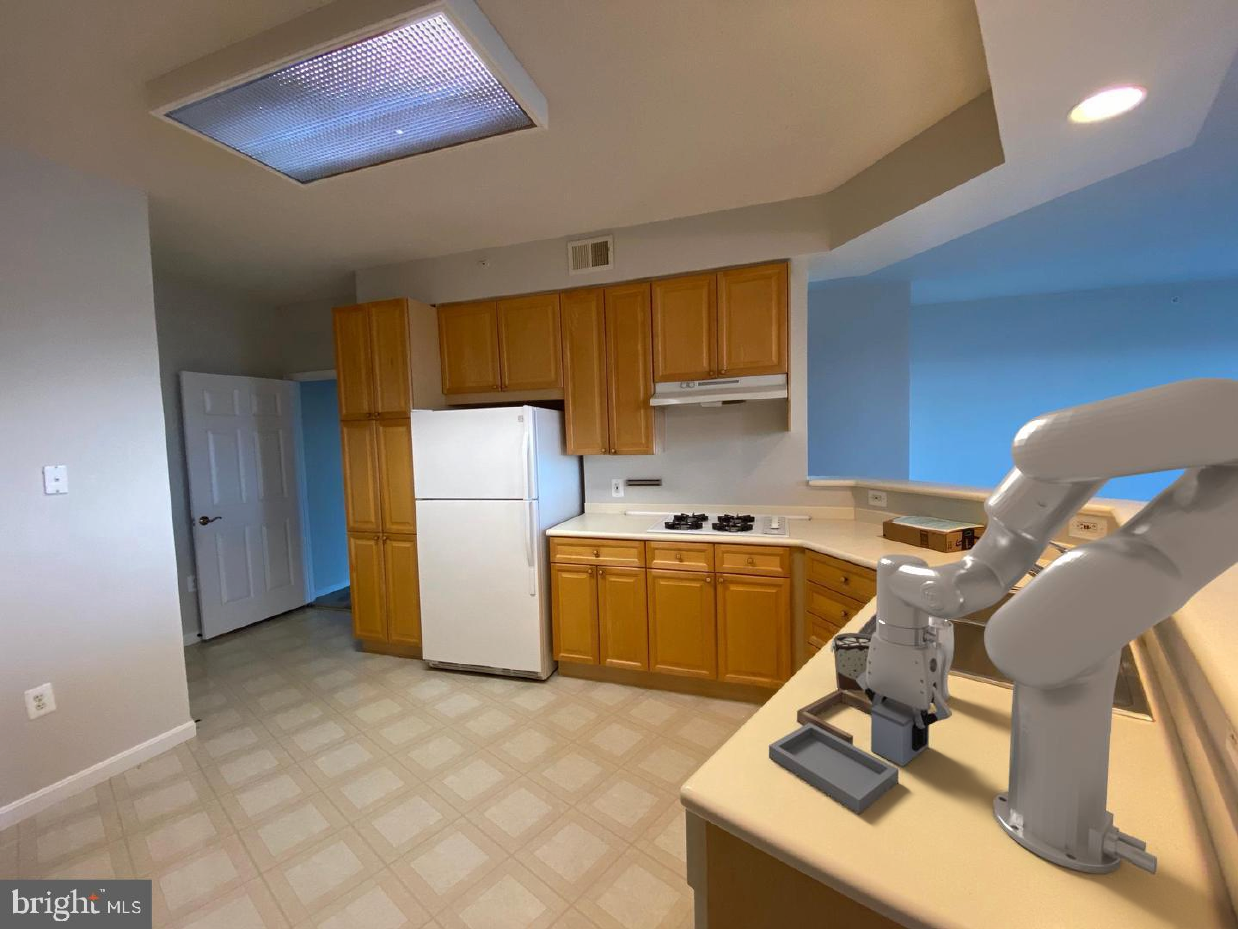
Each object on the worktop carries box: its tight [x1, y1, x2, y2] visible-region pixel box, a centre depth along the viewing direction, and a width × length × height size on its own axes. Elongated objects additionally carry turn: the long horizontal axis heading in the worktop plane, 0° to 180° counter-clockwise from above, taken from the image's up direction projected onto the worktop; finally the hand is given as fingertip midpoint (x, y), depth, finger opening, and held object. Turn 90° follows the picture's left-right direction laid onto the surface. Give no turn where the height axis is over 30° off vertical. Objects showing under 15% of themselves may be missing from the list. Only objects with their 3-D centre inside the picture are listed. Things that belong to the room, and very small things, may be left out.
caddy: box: [870, 698, 931, 767], centre depth 82 cm, size 5×9×7 cm, turn 125°
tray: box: [768, 723, 899, 815], centre depth 78 cm, size 15×11×2 cm
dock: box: [796, 688, 873, 746], centre depth 91 cm, size 10×14×2 cm
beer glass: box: [929, 615, 955, 703], centre depth 99 cm, size 7×7×15 cm
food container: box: [830, 632, 873, 692], centre depth 104 cm, size 12×6×10 cm, turn 84°
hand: (900, 738), depth 83 cm, fingers closed on caddy, 5 cm apart
